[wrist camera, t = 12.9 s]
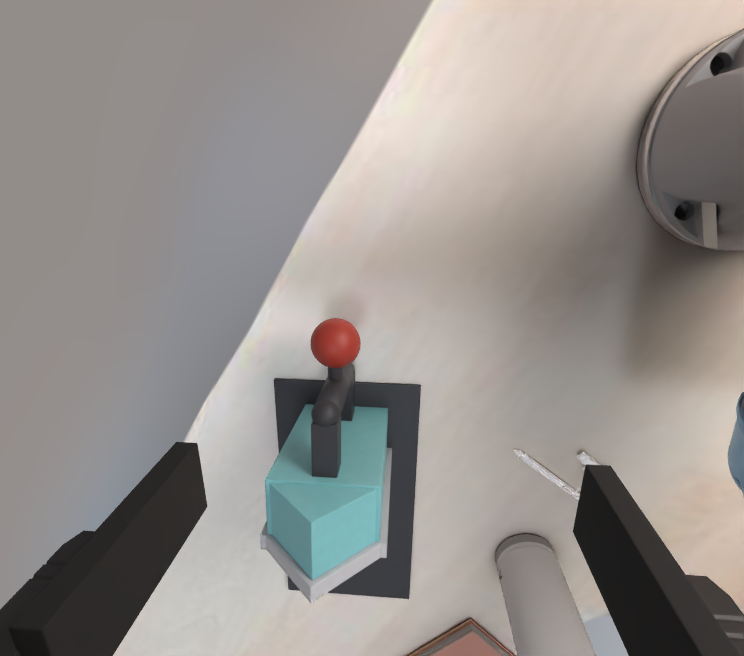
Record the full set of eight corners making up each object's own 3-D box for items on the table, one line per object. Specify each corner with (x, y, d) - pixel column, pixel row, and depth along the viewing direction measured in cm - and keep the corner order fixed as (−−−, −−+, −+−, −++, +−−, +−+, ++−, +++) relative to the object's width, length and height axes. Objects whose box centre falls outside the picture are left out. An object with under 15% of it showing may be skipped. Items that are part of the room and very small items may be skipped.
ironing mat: (420, 384, 40) (420, 386, 40) (409, 595, 49) (409, 599, 49) (274, 378, 41) (273, 380, 41) (289, 586, 50) (288, 589, 50)
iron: (383, 609, 26) (391, 364, 22) (239, 598, 27) (222, 357, 23) (391, 458, 42) (396, 303, 39) (302, 453, 43) (298, 300, 39)
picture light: (509, 449, 42) (515, 463, 40) (541, 419, 41) (548, 432, 39) (612, 523, 44) (622, 540, 42) (646, 497, 43) (658, 513, 41)
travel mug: (480, 562, 47) (531, 820, 28) (519, 523, 45) (601, 774, 26) (526, 587, 47) (606, 856, 29) (566, 550, 45) (681, 814, 27)
